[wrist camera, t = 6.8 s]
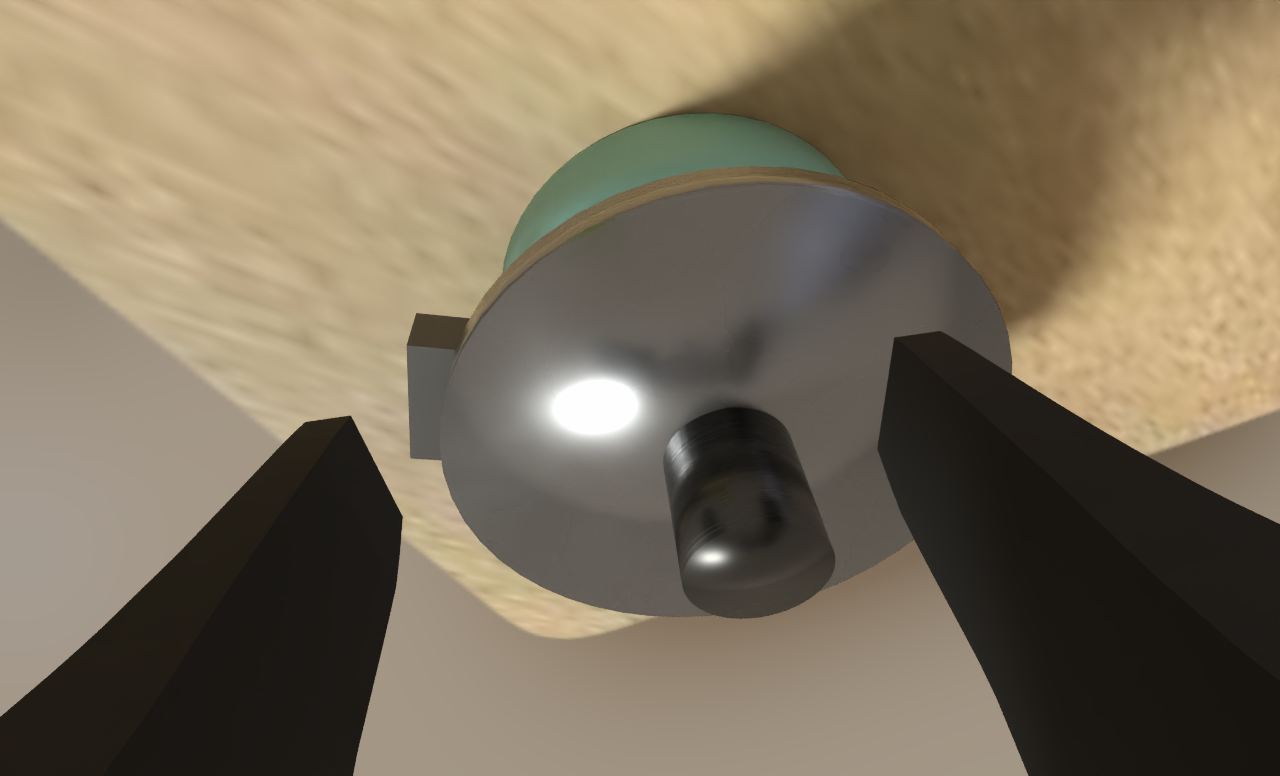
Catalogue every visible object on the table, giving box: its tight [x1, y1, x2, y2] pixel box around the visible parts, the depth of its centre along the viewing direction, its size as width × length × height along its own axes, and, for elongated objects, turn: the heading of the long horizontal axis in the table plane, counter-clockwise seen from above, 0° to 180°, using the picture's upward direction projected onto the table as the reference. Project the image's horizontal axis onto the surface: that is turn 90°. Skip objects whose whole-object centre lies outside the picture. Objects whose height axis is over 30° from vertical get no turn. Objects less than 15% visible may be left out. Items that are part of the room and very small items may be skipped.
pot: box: [407, 113, 846, 460], centre depth 18 cm, size 14×11×6 cm
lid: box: [439, 166, 1012, 619], centre depth 14 cm, size 12×12×4 cm
